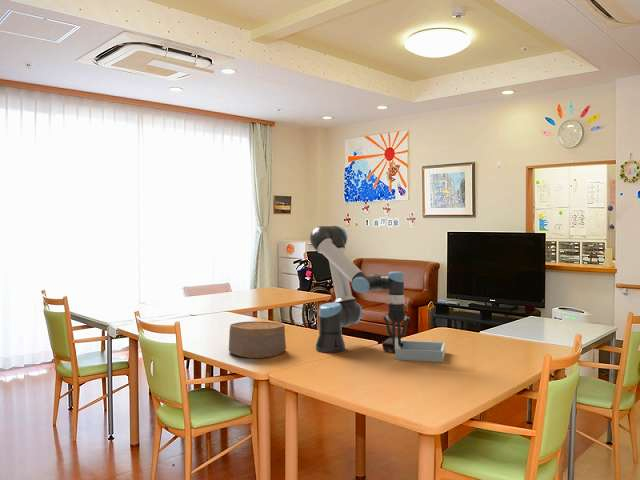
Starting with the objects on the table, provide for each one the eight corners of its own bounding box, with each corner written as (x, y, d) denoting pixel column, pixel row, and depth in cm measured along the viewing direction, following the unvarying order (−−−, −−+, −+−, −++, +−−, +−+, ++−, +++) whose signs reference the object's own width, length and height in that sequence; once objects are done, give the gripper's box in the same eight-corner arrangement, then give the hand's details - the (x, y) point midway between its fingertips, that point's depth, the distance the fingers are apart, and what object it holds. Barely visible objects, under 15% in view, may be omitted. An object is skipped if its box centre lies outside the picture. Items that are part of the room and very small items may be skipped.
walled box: (395, 359, 257) (395, 348, 257) (400, 350, 277) (400, 340, 277) (442, 362, 251) (442, 351, 251) (445, 352, 271) (445, 342, 271)
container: (294, 350, 279) (294, 321, 279) (266, 362, 254) (266, 330, 254) (248, 345, 291) (247, 317, 290) (217, 356, 266) (217, 326, 265)
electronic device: (397, 346, 268) (405, 338, 273) (381, 343, 274) (388, 335, 280) (399, 353, 270) (406, 345, 275) (382, 350, 276) (390, 342, 281)
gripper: (381, 303, 265) (382, 351, 265) (408, 304, 261) (409, 353, 262) (384, 301, 272) (384, 348, 272) (410, 302, 268) (411, 350, 269)
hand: (396, 350), depth 267 cm, fingers closed
